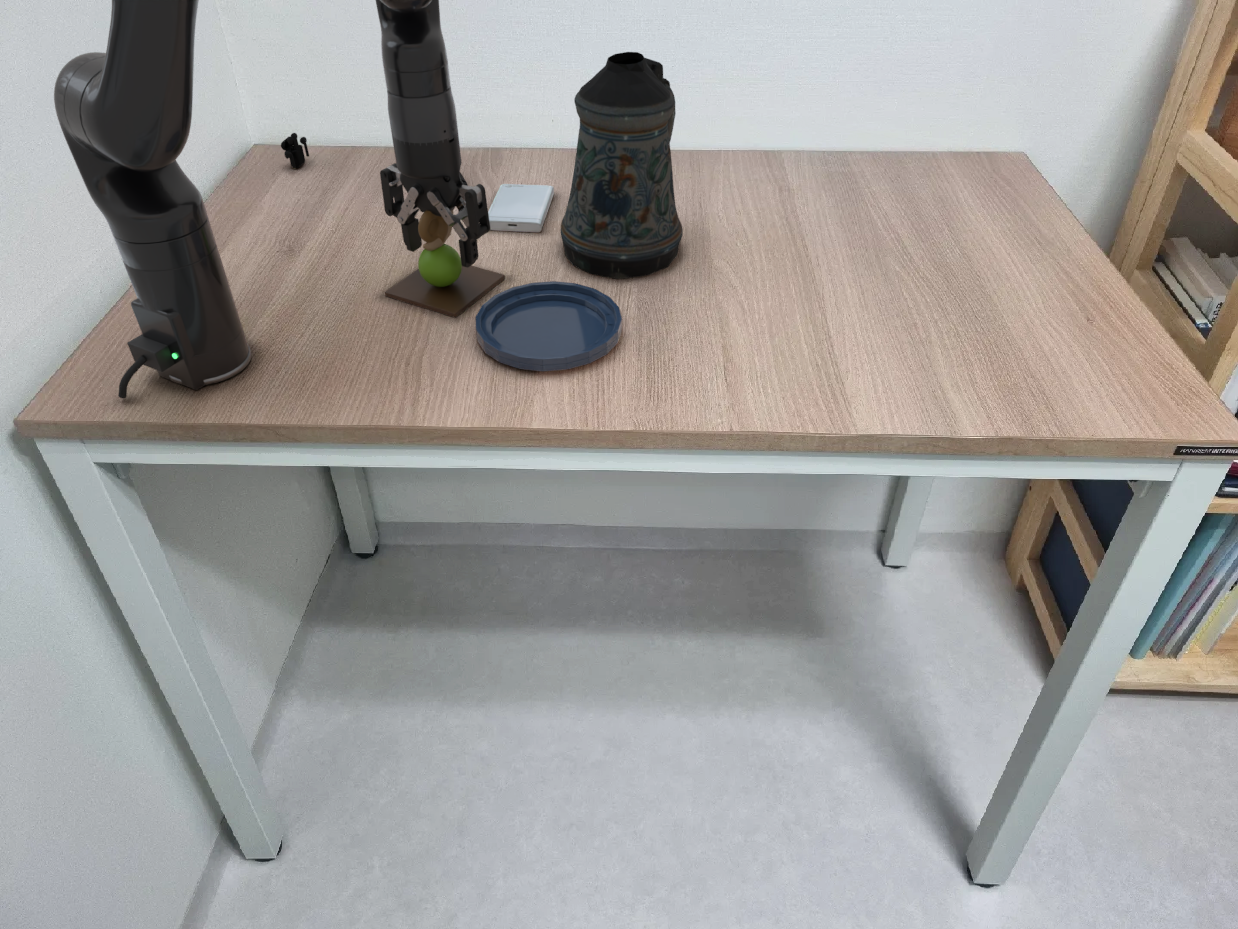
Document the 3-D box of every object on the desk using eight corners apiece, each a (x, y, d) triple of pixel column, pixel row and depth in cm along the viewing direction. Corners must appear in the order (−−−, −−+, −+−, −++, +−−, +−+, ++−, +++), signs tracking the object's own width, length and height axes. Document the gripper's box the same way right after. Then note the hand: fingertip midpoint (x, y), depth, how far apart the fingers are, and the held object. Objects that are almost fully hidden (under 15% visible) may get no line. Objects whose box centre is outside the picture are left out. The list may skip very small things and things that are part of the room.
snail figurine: (477, 277, 119) (467, 189, 111) (445, 298, 115) (433, 209, 107) (445, 266, 121) (433, 179, 113) (412, 287, 117) (398, 198, 109)
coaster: (455, 317, 113) (455, 313, 112) (385, 296, 117) (384, 291, 116) (505, 278, 120) (505, 274, 120) (437, 259, 124) (436, 255, 124)
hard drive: (500, 183, 139) (483, 219, 129) (553, 185, 138) (540, 221, 129) (501, 193, 140) (484, 230, 130) (554, 195, 139) (541, 232, 130)
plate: (575, 390, 101) (574, 374, 100) (448, 349, 107) (446, 333, 106) (645, 318, 113) (646, 302, 111) (527, 284, 119) (526, 269, 117)
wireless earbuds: (293, 175, 145) (286, 143, 142) (279, 173, 145) (271, 142, 142) (312, 157, 150) (306, 127, 147) (298, 156, 150) (291, 125, 147)
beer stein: (556, 278, 120) (547, 82, 104) (567, 213, 135) (560, 31, 118) (682, 281, 120) (693, 83, 103) (679, 215, 134) (688, 33, 118)
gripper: (354, 127, 105) (378, 256, 115) (455, 150, 100) (471, 283, 110) (396, 107, 110) (415, 232, 120) (494, 128, 105) (505, 257, 115)
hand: (441, 256), depth 115 cm, fingers open, 8 cm apart
